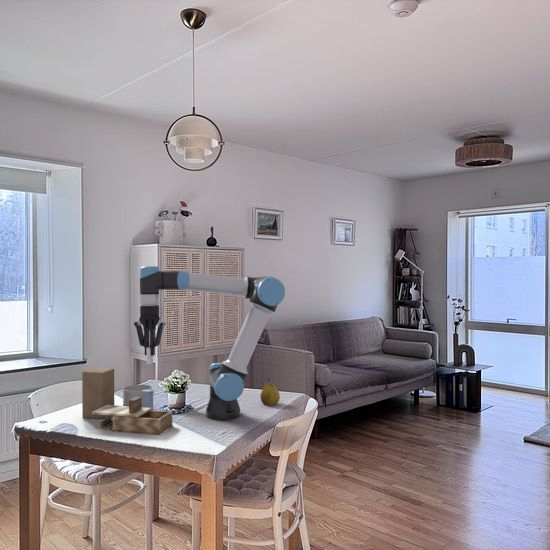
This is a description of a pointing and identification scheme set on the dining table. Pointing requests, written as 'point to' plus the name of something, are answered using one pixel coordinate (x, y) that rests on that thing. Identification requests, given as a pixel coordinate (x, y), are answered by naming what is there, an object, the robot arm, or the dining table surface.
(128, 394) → the planter
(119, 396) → the dining table surface
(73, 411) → the dining table surface
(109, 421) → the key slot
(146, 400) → the light blue block
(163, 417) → the wooden box
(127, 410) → the lid
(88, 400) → the wooden block
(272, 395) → the fruit
